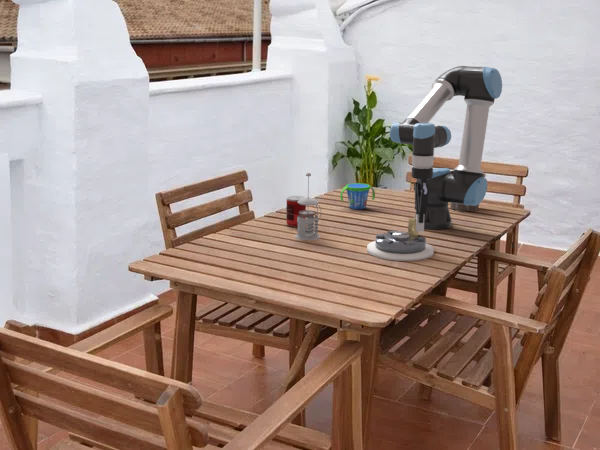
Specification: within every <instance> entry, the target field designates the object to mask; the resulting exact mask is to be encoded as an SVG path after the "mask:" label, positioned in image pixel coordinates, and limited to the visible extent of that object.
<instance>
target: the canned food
mask: <svg viewBox="0 0 600 450" xmlns="http://www.w3.org/2000/svg"><path fill="white" fill-rule="evenodd" d="M303 198H306V197H305V196H302V195H289V196H287V197H286V224H287V225H288V226H290V227H298V215H301V214H299V213H298V212H299V211H302V210H307V205H300V204H298V201H299V200H300V199H303ZM301 218H305V219H307V218H306V217H301Z"/></svg>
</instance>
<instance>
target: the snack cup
mask: <svg viewBox="0 0 600 450" xmlns="http://www.w3.org/2000/svg"><path fill="white" fill-rule="evenodd" d="M370 189H371V190H372V193H371V194H372V196H371V199H372V201H373V200H375V197H376V192H375V189H374V188H373V186H371V185H370V184H368V183H360V182H354V183H348V184H346V185H345V187H343V188H342V190H341V191H340V196H339V198H340V200H341V202H344V196H343V193H344V192H345V190H346V193H347V201H348V208H350V209H352V210H365V208H367V202H368V198H369V193H370Z"/></svg>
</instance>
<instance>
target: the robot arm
mask: <svg viewBox="0 0 600 450" xmlns="http://www.w3.org/2000/svg"><path fill="white" fill-rule="evenodd" d="M502 79H503V78H502V76H501V73H500V71H499V70H498V69H497V68H494V67H488V66H470V65H467V66H465V65H459V66H455V67H453V68H450V69H448V70H446V71H445V72H443V73H442V74H440V75H439V76H438V77H437V78H436V79H435V80H434V81H433V82H432V84H431V88H430V90H429V91H428V92H427V93H426V94H425V96H424V97H423V98H422V99H421V101H420V102H418V104H417V105H416V106H415V107H414V108H413V109H412V111H410V113H409V114H408V115H407V117H406V119H404V120H403V121H402V122H395V123H392V124H391V126H390V128H389V138H390V141H392V142H393V143H398V144H401V145H402V144H404V145H411V146H412V153H411V154H412V155H411V166H412V167H411V177H412V178H413V179H416V180H415V181H416V182H414V183H413V185H414V210H415V216H414V218H416V231H418V232H424V231H425V230H424V229H427V230H428V229H430V230H442V229H449V228H451V227H452V217H451V212H450V209H449V204H451V203H456V204H463V205H467V206H468V205H471V206H476V205H478V204H479V205H480V204H481V203H482V201H484V199H485V196H486V194H487V192H488V191H487V190H488V180H487V178H486V177H485V178H484V177H483V173H484V171H483V170H482V169H481V167H482V161H483V152H484V146H485V139H486V134H487V133H486V132H487V126H488V118H489V112H490V107H491V106H493V105H494V104H495V99H496V100H497V99H499V98H500V96H501V94H502V91H503V90H502V89H503V80H502ZM458 96H459V97H460V96H461V97H464V99H463V101H464V102H465V104H466V110H465V111H466V112H465V118H464V119H465V120H464V125H463V132H462V137H461V138H462V139H461V146H460V151H459V160H458V165H457V166H456V167H454V169H453V170H454V172H453V174H452V173H450V172H451V171H452V170H451V169H450V168H448V167H446V168H444V167H442V168H441V167H440V168H439V167H438V168H433V166H434V161H435V160H436V158H435V155H434V154H435V149H436V148H437V149H438V148H442V147H444V146H446V145H448V144H450V142H451V139H452V131H451V130H450V128H449V127H447V126H445V125H437V126H435V124H434V123H431V122H430V121H431V120H432V119H433V118H434V117H435V116H436V114H437V113H438V112H439V110H441V108H442V107H443V106H444V105H445V103H446V102H448V101H450V100H452V99H453V98H454V97H458ZM429 122H430V123H429Z"/></svg>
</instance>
